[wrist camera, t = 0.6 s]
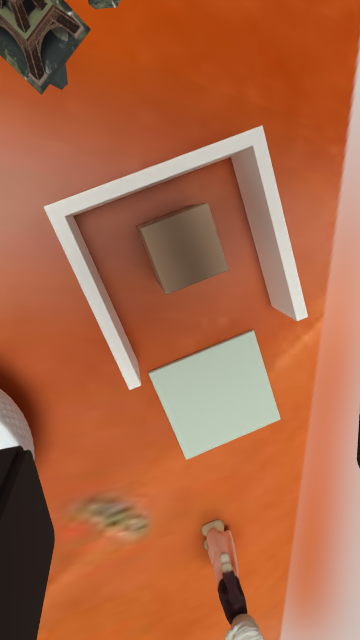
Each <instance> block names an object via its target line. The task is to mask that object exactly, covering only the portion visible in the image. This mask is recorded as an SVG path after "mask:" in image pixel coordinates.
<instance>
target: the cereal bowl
mask: <svg viewBox="0 0 360 640" xmlns="http://www.w3.org/2000/svg"><path fill="white" fill-rule="evenodd" d="M19 445H20V446H22V447H23V449H24V450H30V451H31V452H32V455H33V459H35V454H34V445H33V437H32V435H31V430H30V428H29V426H28V423H27V421H26V419H25V417H24V415H23V413H22V412H21V410H20V409H19V407H18V406H17V404H15V403H14V401H13V400H12V399H11V398H10V396H8V395H7V394H6V393H5V392H4V391H2V390H1V389H0V449H4V448H9V447H14V446H19Z"/></svg>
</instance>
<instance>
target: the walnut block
mask: <svg viewBox="0 0 360 640" xmlns="http://www.w3.org/2000/svg"><path fill="white" fill-rule="evenodd" d="M136 227H137V230H138V232H139V235H140V237H141V240H142V243H143V245H144V248H145V250H146V253H147V255H148V258H149V261H150V263H151V266H152V268H153V271H154V274H155V276H156V279H157V281H158V283H159V284H160V286H161V287H162V289H163V291H164V292H165V294H166V295H167V294H170V293H172V292H175V291H177V290H180V289H182V288H185V287H187V286H190V285H192V284H195V283H197V282H200V281H202V280H205V279H208V278H210V277H213V276H215V275H218V274H220V273H223V272H225V271H228V270H229V269H228V266H227V263H226V260H225V256H224V253H223V250H222V247H221V243H220V240H219V237H218V234H217V230H216V227H215V224H214V221H213V217H212V214H211V211H210V208H209V204H208V203H204V204H197V205H190V206H188V207H185V208H183V209H180V210H177V211H175V212H172V213H170V214H167V215H164V216H162V217H159V218H156V219H154V220H151V221H149V222H146V223H143V224H141V225H138V226H136Z"/></svg>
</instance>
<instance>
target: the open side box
mask: <svg viewBox="0 0 360 640" xmlns="http://www.w3.org/2000/svg"><path fill="white" fill-rule="evenodd" d="M229 157H231V160H232V164H233V167H234V171H235V174H236V178H237V182H238V185H239V189H240V193H241V196H242V200H243V204H244V207H245V211H246V215H247V218H248V222H249V226H250V229H251V233H252V237H253V240H254V244H255V247H256V251H257V255H258V258H259V262H260V266H261V269H262V273H263V277H264V280H265V284H266V288H267V291H268V295H269V299H270V302H271V306H272V307H274V308H275V309H277V310H279V311H281V312H282V313H284V314H286V315H287V316H289V317H291V318H292V319H294V320H296V321H299V320H301V319H304V318H306V317H308V315H307V311H306V307H305V302H304V298H303V294H302V290H301V286H300V281H299V277H298V273H297V269H296V264H295V260H294V256H293V252H292V248H291V243H290V239H289V235H288V231H287V227H286V222H285V218H284V214H283V210H282V206H281V201H280V197H279V193H278V189H277V184H276V180H275V176H274V172H273V168H272V163H271V159H270V155H269V151H268V147H267V142H266V138H265V134H264V130H263V126H259V127H256V128H254V129H251V130H248V131H246V132H243V133H240V134H238V135H235V136H232V137H230V138H227V139H224V140H222V141H219V142H216V143H213V144H211V145H208V146H205V147H203V148H200V149H197V150H195V151H192V152H189V153H187V154H184V155H181V156H179V157H176V158H173V159H170V160H168V161H165V162H162V163H160V164H157V165H154V166H152V167H149V168H146V169H144V170H141V171H138V172H136V173H133V174H130V175H127V176H125V177H122V178H119V179H117V180H114V181H111V182H109V183H106V184H103V185H101V186H98V187H95V188H93V189H90V190H87V191H84V192H82V193H79V194H76V195H74V196H71V197H68V198H66V199H63V200H60V201H58V202H55V203H52V204H50V205H47V206H44V209H45V211H46V213H47V215H48V217H49V220H50V222H51V224H52V226H53V228H54V230H55V232H56V235H57V237H58V239H59V241H60V243H61V245H62V247H63V249H64V252H65V254H66V256H67V258H68V260H69V262H70V264H71V266H72V269H73V271H74V273H75V275H76V277H77V279H78V281H79V283H80V286H81V288H82V290H83V292H84V294H85V296H86V298H87V300H88V303H89V305H90V307H91V309H92V311H93V313H94V315H95V317H96V320H97V322H98V324H99V326H100V328H101V330H102V332H103V334H104V337H105V339H106V341H107V343H108V345H109V347H110V349H111V352H112V354H113V356H114V358H115V360H116V362H117V364H118V366H119V369H120V371H121V373H122V375H123V377H124V379H125V381H126V383H127V386H128V388H129V390H131V389H133V388H136V387H138V386H141V381H140V374H139V367H138V361H137V358H136V356H135V354H134V352H133V349H132V347H131V345H130V343H129V340H128V338H127V336H126V334H125V331H124V329H123V327H122V325H121V322H120V320H119V318H118V316H117V313H116V311H115V309H114V307H113V304H112V302H111V300H110V298H109V295H108V293H107V291H106V289H105V286H104V284H103V282H102V280H101V277H100V275H99V273H98V271H97V269H96V266H95V264H94V262H93V260H92V257H91V255H90V253H89V251H88V248H87V246H86V244H85V242H84V239H83V237H82V235H81V233H80V230H79V228H78V226H77V224H76V221H75V219H74V217H73V216H75V215H77V214H80V213H83V212H85V211H88V210H91V209H93V208H96V207H99V206H101V205H104V204H107V203H109V202H112V201H115V200H117V199H120V198H123V197H125V196H128V195H131V194H133V193H136V192H139V191H141V190H144V189H147V188H149V187H152V186H155V185H157V184H160V183H163V182H165V181H168V180H171V179H173V178H176V177H178V176H181V175H184V174H186V173H189V172H192V171H194V170H197V169H200V168H202V167H205V166H208V165H210V164H213V163H216V162H218V161H221V160H224V159H226V158H229Z"/></svg>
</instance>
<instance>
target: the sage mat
mask: <svg viewBox="0 0 360 640" xmlns="http://www.w3.org/2000/svg"><path fill="white" fill-rule="evenodd" d="M148 373H149V376H150V378H151V380H152V383H153V385H154V387H155V389H156V392H157V394H158V396H159V399H160V401H161V403H162V405H163V408H164V410H165V412H166V415H167V417H168V419H169V421H170V424H171V426H172V428H173V430H174V433H175V435H176V437H177V440H178V442H179V444H180V446H181V449H182V451H183V453H184V456H185V458H186V460H187V459H189V458H192V457H194V456H196V455H199V454H201V453H203V452H206V451H208V450H210V449H213V448H215V447H217V446H220V445H222V444H224V443H227V442H229V441H231V440H234V439H236V438H238V437H241V436H243V435H245V434H248V433H250V432H252V431H255V430H257V429H259V428H262V427H264V426H266V425H269V424H271V423H273V422H276V421H278V420H280V416H279V413H278V409H277V406H276V403H275V399H274V396H273V393H272V389H271V386H270V383H269V379H268V376H267V373H266V370H265V366H264V363H263V360H262V356H261V353H260V350H259V346H258V343H257V340H256V336H255V333H254V330H249V331H247V332H244V333H242V334H240V335H237V336H235V337H232V338H230V339H227V340H225V341H223V342H220V343H218V344H215V345H213V346H210V347H208V348H205V349H203V350H201V351H198V352H196V353H193V354H191V355H188V356H186V357H183V358H181V359H179V360H176V361H174V362H171V363H169V364H166V365H164V366H161V367H159V368H157V369H154V370H152V371H149V372H148Z"/></svg>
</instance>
